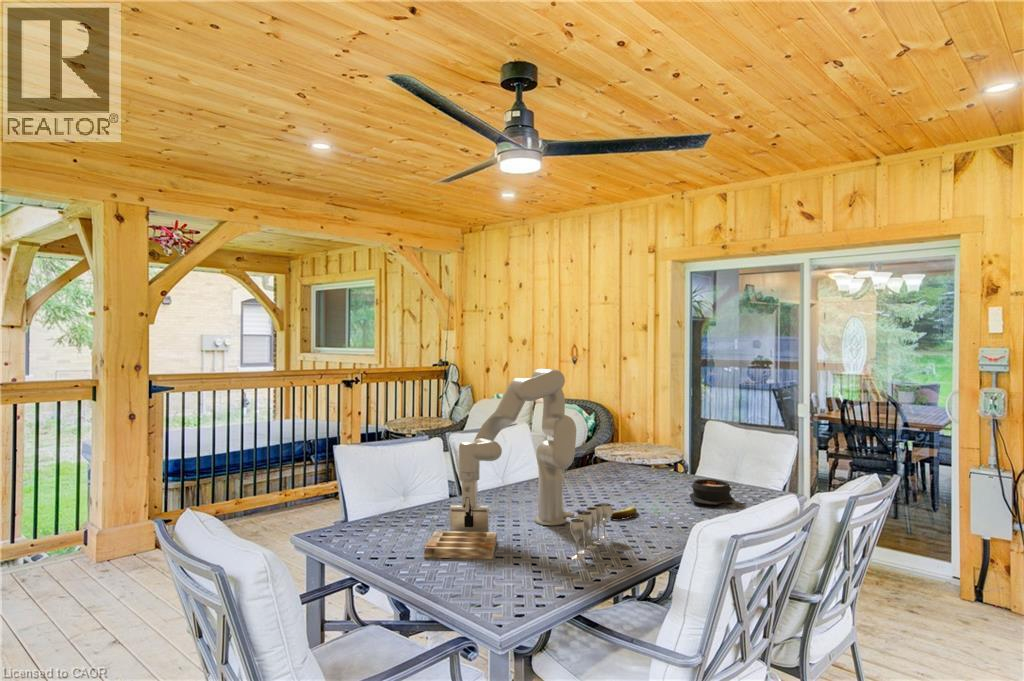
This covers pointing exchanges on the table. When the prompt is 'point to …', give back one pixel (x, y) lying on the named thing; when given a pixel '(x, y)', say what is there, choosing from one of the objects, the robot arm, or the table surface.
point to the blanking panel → (478, 519)
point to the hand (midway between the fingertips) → (469, 525)
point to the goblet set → (589, 525)
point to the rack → (461, 545)
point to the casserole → (711, 492)
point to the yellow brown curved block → (624, 513)
